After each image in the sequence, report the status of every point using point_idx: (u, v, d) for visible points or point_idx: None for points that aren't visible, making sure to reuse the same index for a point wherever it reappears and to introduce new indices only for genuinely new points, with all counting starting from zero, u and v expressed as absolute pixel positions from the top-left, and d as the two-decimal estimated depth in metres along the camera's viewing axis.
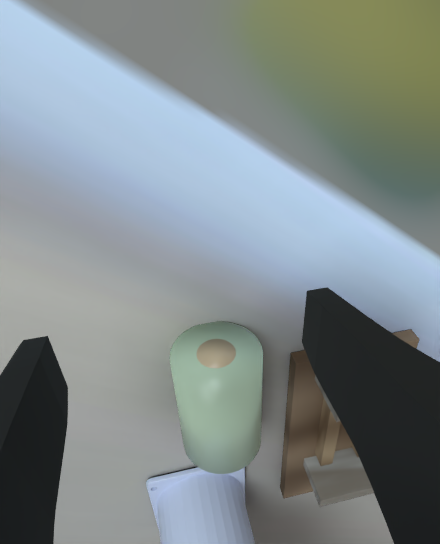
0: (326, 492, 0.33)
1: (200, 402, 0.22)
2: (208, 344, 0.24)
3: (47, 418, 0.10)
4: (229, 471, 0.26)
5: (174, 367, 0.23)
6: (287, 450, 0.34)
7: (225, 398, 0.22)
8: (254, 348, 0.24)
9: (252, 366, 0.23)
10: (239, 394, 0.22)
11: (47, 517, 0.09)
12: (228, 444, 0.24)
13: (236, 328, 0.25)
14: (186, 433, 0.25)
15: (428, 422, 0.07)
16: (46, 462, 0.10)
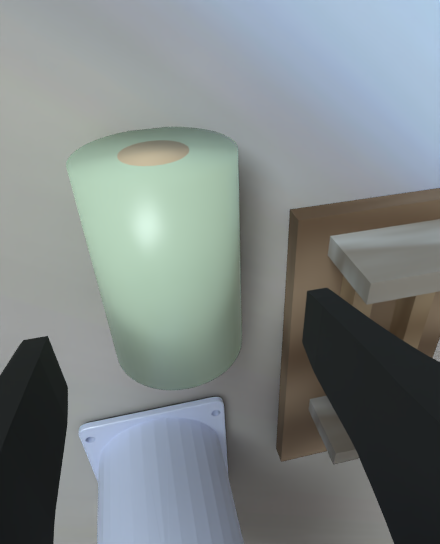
0: (343, 443, 0.22)
1: (116, 223, 0.12)
2: (142, 145, 0.13)
3: (47, 418, 0.10)
4: (185, 385, 0.15)
5: (72, 167, 0.12)
6: (285, 384, 0.23)
7: (161, 208, 0.11)
8: (222, 146, 0.13)
9: (217, 163, 0.12)
10: (188, 203, 0.11)
11: (48, 517, 0.09)
12: (178, 325, 0.14)
13: (195, 131, 0.14)
14: (109, 314, 0.15)
15: (428, 421, 0.07)
16: (46, 462, 0.10)
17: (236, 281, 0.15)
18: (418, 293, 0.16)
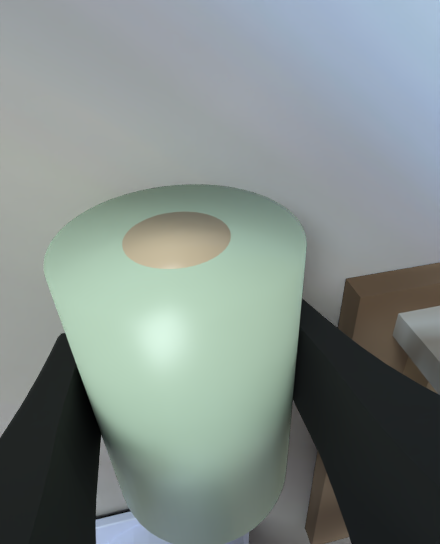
0: None
1: (122, 367, 0.07)
2: (158, 221, 0.09)
3: (87, 410, 0.10)
4: (217, 542, 0.11)
5: (52, 268, 0.08)
6: (324, 472, 0.19)
7: (196, 351, 0.07)
8: (280, 226, 0.09)
9: (280, 263, 0.08)
10: (239, 340, 0.07)
11: (90, 507, 0.09)
12: (212, 484, 0.09)
13: (232, 194, 0.10)
14: (110, 454, 0.10)
15: (379, 433, 0.07)
16: (88, 453, 0.10)
17: (291, 405, 0.10)
18: None
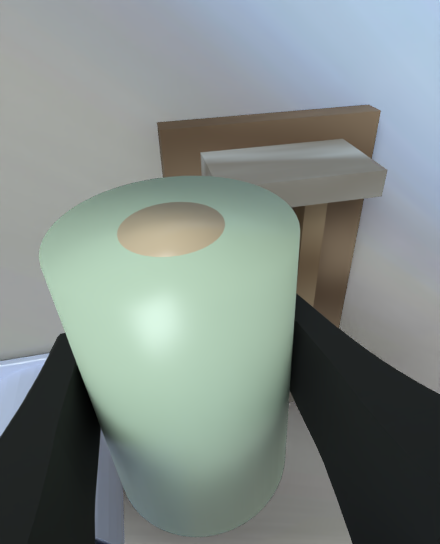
0: None
1: (119, 355, 0.07)
2: (153, 212, 0.09)
3: (86, 410, 0.10)
4: (217, 531, 0.11)
5: (47, 259, 0.08)
6: None
7: (192, 337, 0.07)
8: (274, 214, 0.09)
9: (274, 249, 0.08)
10: (234, 324, 0.07)
11: (90, 507, 0.09)
12: (211, 472, 0.09)
13: (226, 184, 0.10)
14: (109, 445, 0.10)
15: (379, 432, 0.07)
16: (87, 453, 0.10)
17: (288, 393, 0.10)
18: None
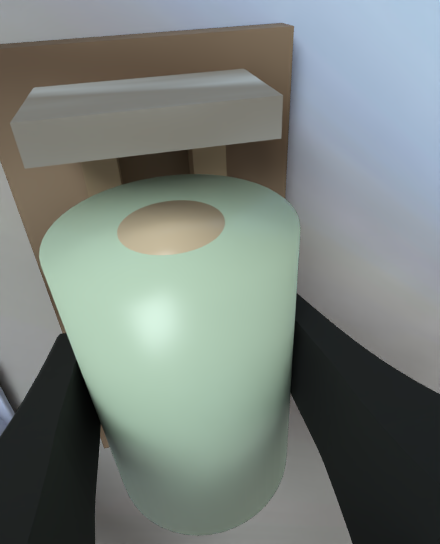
0: None
1: (121, 354, 0.07)
2: (153, 210, 0.09)
3: (86, 410, 0.10)
4: (219, 529, 0.11)
5: (48, 258, 0.08)
6: None
7: (194, 335, 0.07)
8: (273, 211, 0.09)
9: (274, 246, 0.08)
10: (236, 321, 0.07)
11: (90, 507, 0.09)
12: (213, 469, 0.09)
13: (226, 182, 0.10)
14: (111, 444, 0.10)
15: (379, 432, 0.07)
16: (87, 453, 0.10)
17: (289, 390, 0.10)
18: (120, 152, 0.10)
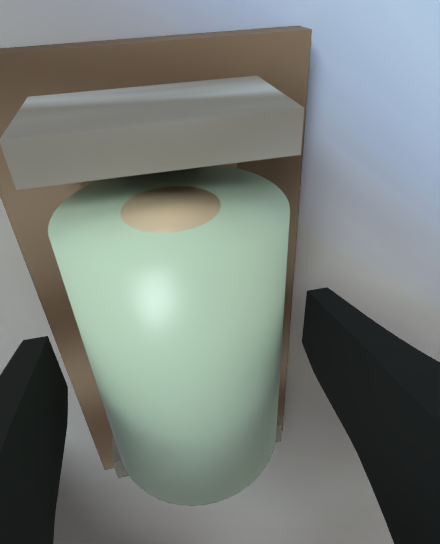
0: None
1: (126, 322, 0.08)
2: (153, 195, 0.10)
3: (47, 418, 0.10)
4: (213, 499, 0.12)
5: (56, 235, 0.08)
6: None
7: (193, 303, 0.08)
8: (265, 196, 0.10)
9: (266, 225, 0.08)
10: (232, 292, 0.08)
11: (48, 517, 0.09)
12: (209, 438, 0.10)
13: (220, 170, 0.11)
14: (111, 417, 0.11)
15: (428, 421, 0.07)
16: (46, 462, 0.10)
17: (279, 366, 0.11)
18: (123, 171, 0.09)
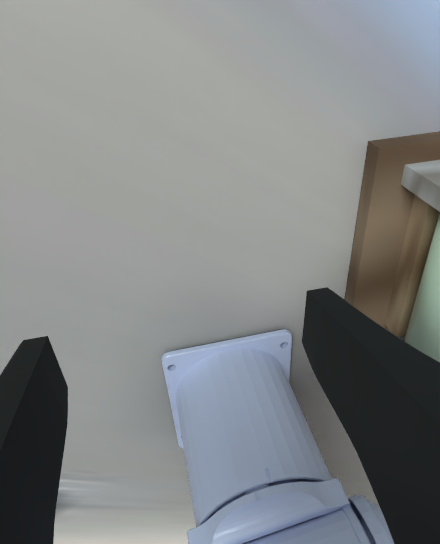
0: None
1: None
2: None
3: (47, 418, 0.10)
4: None
5: None
6: None
7: None
8: None
9: None
10: None
11: (48, 517, 0.09)
12: None
13: None
14: None
15: (428, 422, 0.07)
16: (46, 462, 0.10)
17: None
18: None
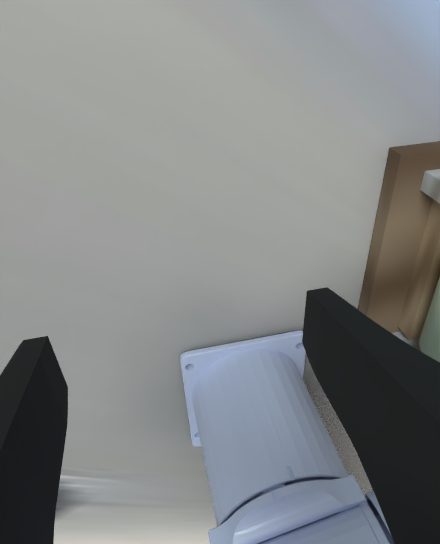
0: None
1: None
2: None
3: (47, 418, 0.10)
4: None
5: None
6: None
7: None
8: None
9: None
10: None
11: (47, 517, 0.09)
12: None
13: None
14: None
15: (428, 421, 0.07)
16: (46, 462, 0.10)
17: None
18: None
